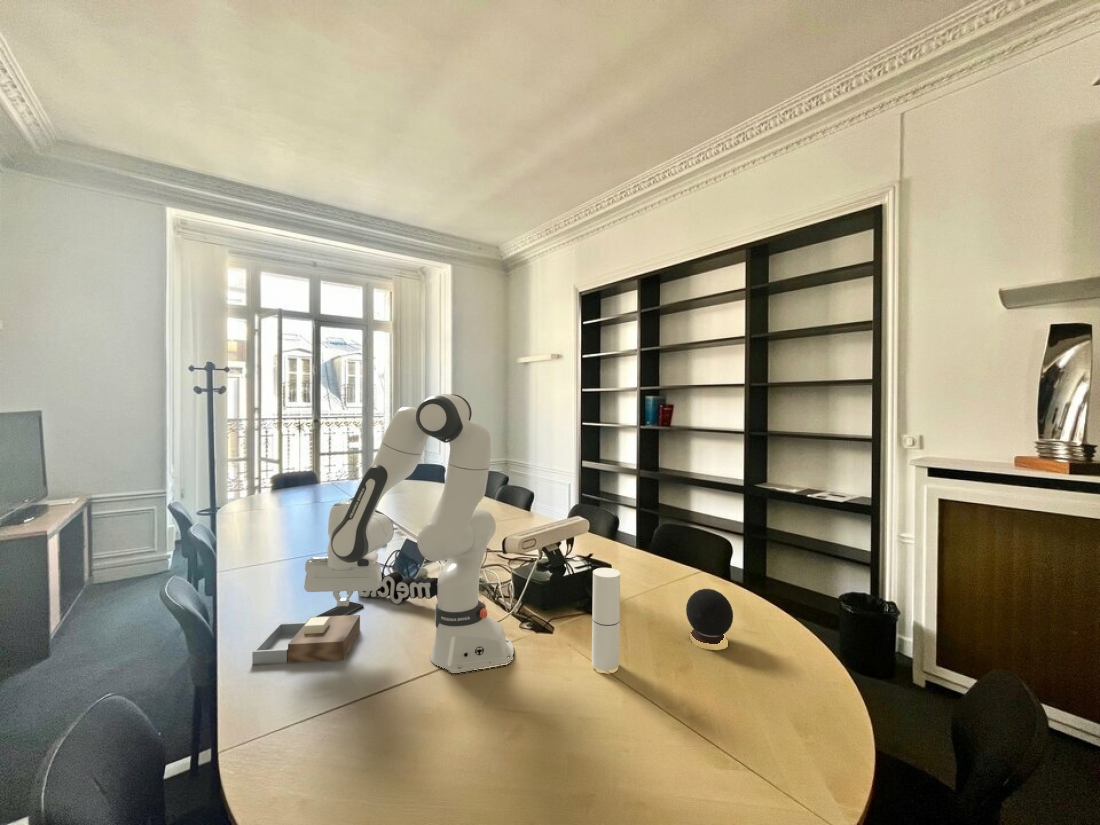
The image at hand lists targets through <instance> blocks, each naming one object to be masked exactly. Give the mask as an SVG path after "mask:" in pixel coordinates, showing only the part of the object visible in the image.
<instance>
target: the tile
mask: <svg viewBox="0 0 1100 825" xmlns="http://www.w3.org/2000/svg"><path fill="white" fill-rule="evenodd" d="M314 617H315V618H310V617H309V619H310V620H309V619H308V620H309V621H308V620H307V621H308V622H307V621H306V622H307V623H306V624H305V626H304V634H310V633H324V631H325V630H326V629H327V627H328V626H329V617H316V616H314Z"/></svg>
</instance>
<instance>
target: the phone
mask: <svg viewBox="0 0 1100 825" xmlns="http://www.w3.org/2000/svg"><path fill="white" fill-rule="evenodd" d="M364 606H365V605H364V603H363V604H362V603H360V602H359V603H358V602H353V601H349V605H348V606H337V605H336V606H335V607H333V608H331V609H328V610H326V611H324V612H322V613H320V614H318V615H316V616H315V617H323V616H346V615H354V614H355V613H356V612H358V611H361V610H363V609H364Z"/></svg>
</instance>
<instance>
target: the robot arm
mask: <svg viewBox="0 0 1100 825" xmlns="http://www.w3.org/2000/svg"><path fill="white" fill-rule="evenodd" d="M472 411H473V410H472V408H471V405H470V403H469V401H468V400H467V399H466V398H464V397H463V396H460V395H458V394H453V393H451V394H449V393H442V394H441V393H440V394H436V395H431V396H429V397H427V398H425V399H424V400H422V402H421V403H420V404H419V406H418V407H414V406H404V407H401V408H399V409H397V410H396V412H394V415H393V417H392V418H391V420H390V422H389V423H388V426H387V428H386V430H385V432H384V434H383V438H382V439H381V440H382V441H381V443H380V446H379V448H378V450H377V452H376V455H375V457H374V458H373V459H374V460H372V463H371V464H370V466H369V468H368V469H367V471H366V472H365V474H364V475H363V477H362V479H361V481H360V483H359V486H358V487H357V490H356V492H355V494H354V495H353V496H354V497H353V498H352V499H347V500H343V501H339V502H337V503H334V504H333V505H331V506H332V507H331V508H330V510H329V517H328V524H327V535H328V539H329V541H328V545H327V557H326V556H323V557H321V556H320V557H315V556H314V557H311V558H310V559H307V560H306V562H305V564H304V570H305V577H304V584H303V589H304V590H305V591H306V592H307V593H317V592H318V593H319V592H320V593H326V592H331V593H332V596H333V598H334V599H335V601H336V607H337V606H348V605H349V602H350V599H351V597H352V595H353V594H354V593H355V592H358V591H377V590H378V589H379V587H380V586H381V583H382V575H381V572H382V568H381V564H380V563H379V562H378V559H379V553H378V552H377V550H379V549H380V548H382V547H384V546H386V545H387V544H389V543H390V542H391V541H392V539H393V537H394V533H395V532H394V531H395V528H394V524H393V522H392V520H391V519H390V517H389V516H387V515H386V514H384V513H379V512H376V510H377V508H378V506H379V504H380V501H381V500H382V498H383V497H384V496H385V494H386V493H387V492H389V490H391V489H392V488H393V487H395V486H396V485H397V484H399V483H400V482H403V481H404V480H405V479H407V478H409V477H410V476H411V475H412V474H413V473H414V471H415V470H416V468H417V467H418V464H419V462H420V461H421V457H422V455H423V452H424V448H425V446H426V444H427V441H428V439H429V438H430V437H432V438H433V439H436V440H439V441H440V442H441V443H444V444H445V443H446V444H449V456H448V462H447V468H446V474H445V480H444V486H443V491H442V493H441V495H440V498H439V501H438V503H437V505H436V508H434V511H433V513H432V515H431V517H430V518H429V519H428V521H427V522H426V523H425V524H424V525H423V526H422V527H421V529H420V530H419V532H418V535H417V548H418V550H419V552H420V554H421V556H422V557H423V558H425V560H428V561H430V562H441V561H442V562H443V561H446V562H445V564H444V566H443V567H442V569H441V570H440V572H439V573H438V576H437V578H438V584H437V587H438V594H437V595H436V597H437V598H436V599H437V601H436V602H437V603H436V605H435V610H434V623H435V627H436V628H435V635H434V642H433V647H432V650H431V654H430V661H431V662H432V664H434V665H435V666H436V665H437V666H436V667H438V666H440V667H439V668H441V667H442V668H441V669H444V668H445V669H444V670H446V669H447V670H449V671H450V672H451V673H459V672H465V671H470V670H474V669H479V668H484V667H489V666H495V665H501V664H506V663H509V662H510V661H511V659H512V658H513V659H514V657H513V654H514V655H515V652H514V651H515V650H514V646H513V645H514V644H513V643H512V641H511V640H510V639H509V638H508V637H506V634H505V631H504V628H503V626H502V624H500V622H498V621H497V620H495V619H494V618H492V617H490V616H489V615H488V610H487V607H486V602H485V600H482V601H480V600H479V590H480V588H479V585H480V574H481V568H482V563H483V561H484V558H485V557H484V556H485V554H486V551H487V548H488V545H489V544H490V541H491V540H492V539H493V538H494V535H495V533H496V529H497V527H496V520H495V518H494V516H493V515H492V514H491V512H489V511H488V510H486V509H483V508H477V506H478V505H479V503H480V502H481V501H482V500H483V499H484V497H485V495H486V492H487V491H486V490H487V485H488V484H487V483H488V477H489V470H490V464H491V451H492V450H491V449H492V448H491V447H492V446H491V444H492V443H491V434H490V431H489V430H488V429H487V428H486V427H484V426H483V425H480V424H477V423H473V422H471V418H472ZM340 592H346V595H347V597H341V595H340ZM508 657H509V658H508ZM511 662H512V661H511ZM447 670H446V671H447ZM449 671H448V672H449ZM450 672H449V673H450ZM451 673H450V674H451Z"/></svg>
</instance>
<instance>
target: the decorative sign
mask: <svg viewBox="0 0 1100 825" xmlns="http://www.w3.org/2000/svg"><path fill="white" fill-rule="evenodd" d="M381 575H382V583H381V586H380V587H379V589H378V590H377V591H357V594H358V597H359V598H369V597H370V598H373V599H374V598H379V597H380V598H381V599H386V598H388V597H389V600H390V601H391V603H393V604H394V605H397V606H398V605H400V604H402V603H404V602H406V601H407V600H408V599H417V598H418V599H424V598H425V599H426V600H427V599H432V598H434V597H435V596H437V595H438V577H430V576H429V577H425V578H424V577H422V576H421V577H418V578H417V579H415V578H413V577H410V576H409V577H405V578H404V577H403V575H402V574H401V572H399V571H396V570H395V571H393V572H391V573H388V574H386V575H385V576H384V572H383V571H381Z"/></svg>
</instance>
